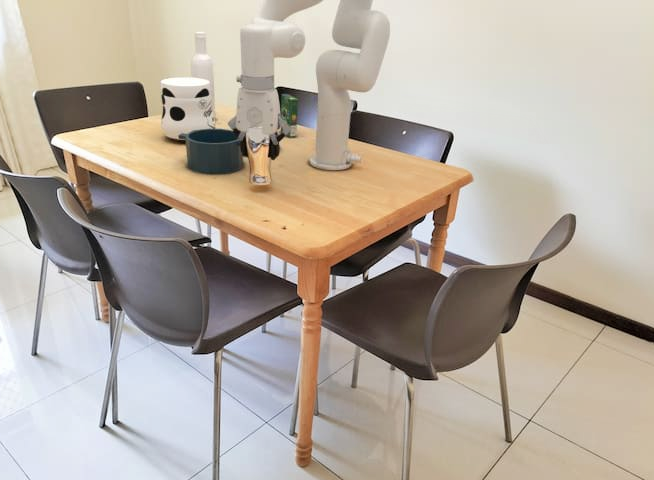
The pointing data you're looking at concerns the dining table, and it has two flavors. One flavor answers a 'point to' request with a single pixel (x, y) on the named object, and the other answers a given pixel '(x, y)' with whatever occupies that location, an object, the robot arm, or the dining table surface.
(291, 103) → the coffee box
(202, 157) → the pot
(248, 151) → the beer glass
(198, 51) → the bottle
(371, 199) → the dining table surface
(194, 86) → the milk container
